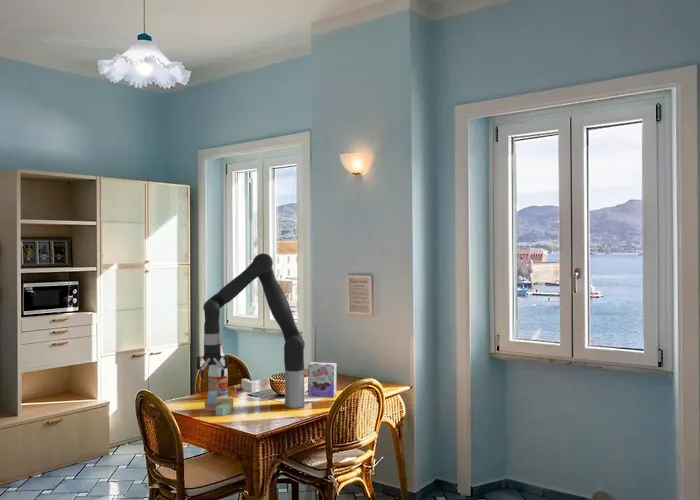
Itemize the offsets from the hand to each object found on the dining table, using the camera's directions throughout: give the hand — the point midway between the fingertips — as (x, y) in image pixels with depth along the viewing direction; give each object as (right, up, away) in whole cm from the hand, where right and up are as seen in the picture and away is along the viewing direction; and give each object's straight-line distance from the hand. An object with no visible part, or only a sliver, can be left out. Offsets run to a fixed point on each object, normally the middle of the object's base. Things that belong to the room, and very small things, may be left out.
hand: (212, 377), depth 287 cm
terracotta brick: (0, -15, 0) cm, 15 cm away
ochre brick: (+4, -15, +7) cm, 17 cm away
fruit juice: (-2, -15, +20) cm, 25 cm away
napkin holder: (+10, -16, +41) cm, 45 cm away
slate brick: (0, -11, 0) cm, 11 cm away
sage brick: (+6, -15, -7) cm, 18 cm away
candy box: (+50, -15, +29) cm, 59 cm away
